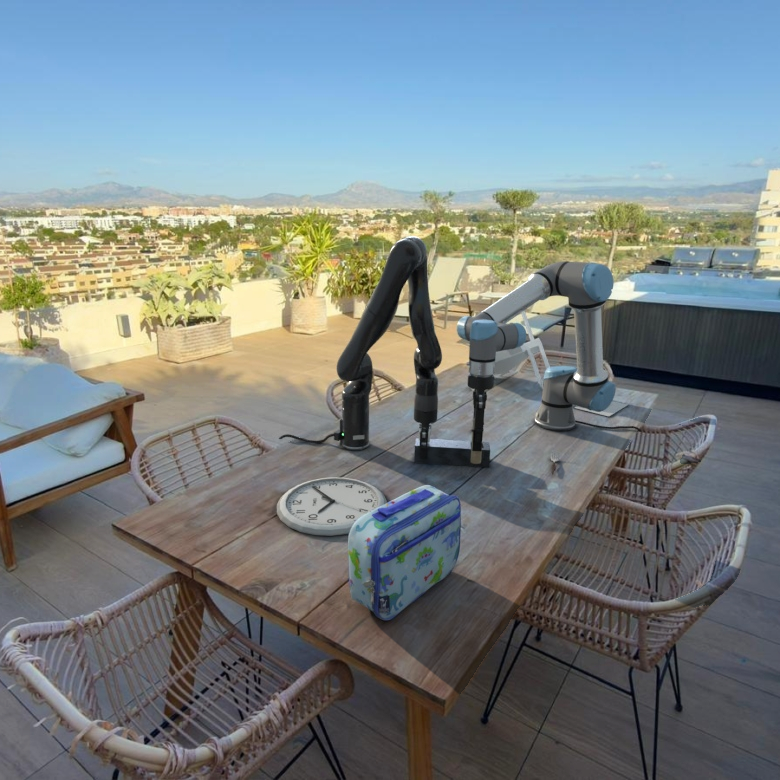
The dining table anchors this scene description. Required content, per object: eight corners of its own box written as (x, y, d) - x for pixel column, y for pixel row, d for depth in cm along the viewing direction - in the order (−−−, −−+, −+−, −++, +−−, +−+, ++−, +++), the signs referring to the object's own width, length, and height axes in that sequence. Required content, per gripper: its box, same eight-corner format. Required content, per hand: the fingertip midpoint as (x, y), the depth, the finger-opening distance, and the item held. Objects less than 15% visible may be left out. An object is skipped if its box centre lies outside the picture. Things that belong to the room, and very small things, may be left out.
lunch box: (378, 635, 98) (379, 537, 91) (341, 606, 105) (340, 513, 99) (464, 574, 115) (470, 488, 109) (427, 553, 122) (431, 471, 116)
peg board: (487, 459, 173) (488, 442, 171) (489, 467, 167) (490, 450, 165) (415, 454, 176) (416, 438, 174) (414, 462, 170) (414, 445, 168)
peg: (480, 459, 162) (483, 417, 157) (481, 464, 159) (484, 421, 154) (470, 459, 162) (472, 416, 158) (470, 463, 159) (473, 420, 155)
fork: (547, 475, 162) (548, 469, 162) (551, 455, 176) (551, 449, 176) (556, 476, 161) (557, 470, 161) (559, 456, 176) (560, 451, 175)
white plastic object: (489, 418, 267) (470, 395, 242) (471, 346, 289) (451, 318, 264) (561, 394, 254) (547, 368, 230) (535, 321, 277) (521, 289, 252)
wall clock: (392, 527, 129) (268, 531, 127) (391, 533, 130) (269, 537, 127) (383, 473, 158) (282, 475, 155) (383, 478, 158) (282, 480, 156)
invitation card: (608, 416, 214) (573, 407, 224) (608, 416, 214) (573, 408, 224) (628, 404, 229) (594, 396, 238) (628, 405, 229) (594, 397, 238)
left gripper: (415, 398, 174) (414, 445, 179) (412, 413, 160) (410, 462, 165) (438, 400, 173) (436, 446, 178) (436, 414, 160) (434, 464, 165)
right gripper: (467, 366, 160) (463, 437, 167) (468, 381, 144) (464, 458, 152) (492, 367, 159) (487, 438, 166) (496, 382, 144) (490, 460, 151)
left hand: (424, 454), depth 172 cm, fingers closed on peg board, 6 cm apart
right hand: (476, 447), depth 159 cm, fingers closed on peg, 3 cm apart
